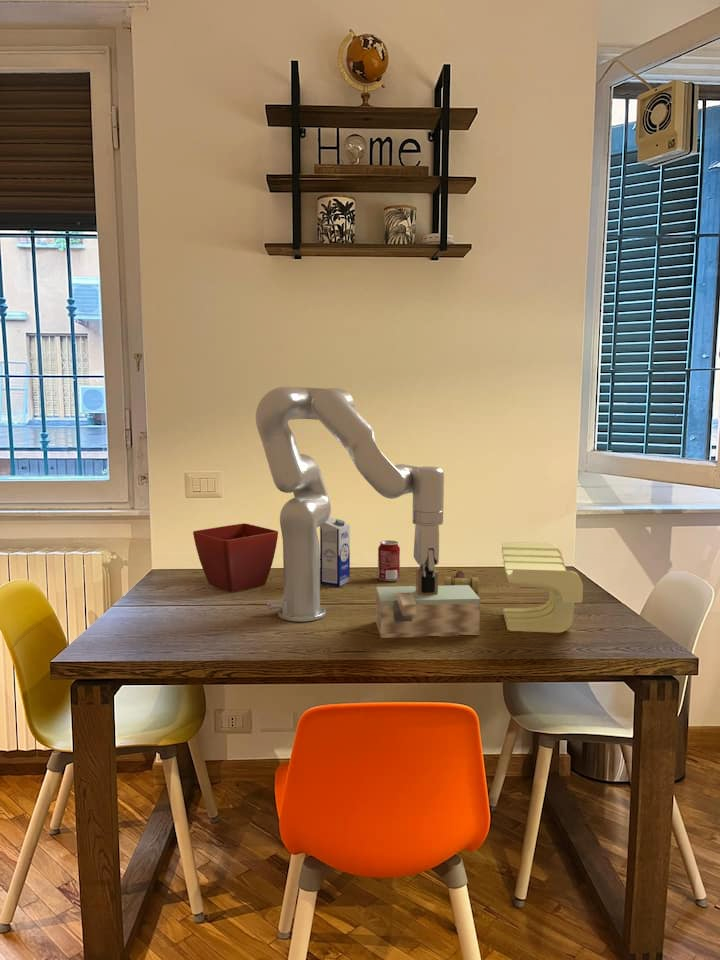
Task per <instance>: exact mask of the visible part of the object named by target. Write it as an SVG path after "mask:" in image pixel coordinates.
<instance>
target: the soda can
mask: <svg viewBox="0 0 720 960" xmlns="http://www.w3.org/2000/svg"><path fill="white" fill-rule="evenodd" d="M379 543H380V544H379V546H378V549H377V557H378V558H377V561H378V562H377V578H378V579H379V580H380V581H381V582H385V581H393V582H396V581H398V580H399V579H401V578H400V574H401V573H400V569H401V566H400V565H401V564H400V563H401V560H400V559H401V557H400V555H401V549H400V546H399V542H398V541H397V540H396V541H395V540H392V539H391V540H388V539H387V540H382V541H379Z"/></svg>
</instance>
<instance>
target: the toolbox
mask: <svg viewBox="0 0 720 960" xmlns="http://www.w3.org/2000/svg"><path fill="white" fill-rule="evenodd" d="M375 600H376V602H375V603H376V605H375V606H376V607H375V622H376V626H377V629H378V632H379V635H380V638H381V639H388V638H389V639H392V638H393V639H394V638H428V637H427V636H439V637H459V636H458V635H479V636H480V625H481V624H480V619H481V618H480V617H481V615H480V614H481V603H480V604H437V605H416V615H408V616H403V615H402V612H401V610H400V608H399V605H398V600H397V601H394V605H390V606H381V604H380V601H379V598H378V595H377V592H376V591H375ZM453 635H454V636H453ZM425 636H426V637H425Z"/></svg>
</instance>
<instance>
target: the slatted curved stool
mask: <svg viewBox="0 0 720 960" xmlns="http://www.w3.org/2000/svg"><path fill="white" fill-rule="evenodd" d="M501 553H502V559H503V566H504V572H505V575H506V577H507V581H508V583H509V584H519V585H520V584H521V585H523V584H524V585H531V586H537V587H541V588H543V589H546V590H548V591H549V592H548V593H549V598H548V600H547V602H546V603H545V604H543V605H540V606H539V605H538V606H535V607H526V608H503V609H502V610H503V611H502V615H504V616H503V618H505V619H504V622H506V623H505V625H506V629H508V630H510V632H531V633H532V632H535V633H537V632H538V633H558V634H559V633H563V632H565V631H567V630H569V628H570V626H571V625H572V623H573V621H574V612H575V603H577V604H578V603H579V604H583V597H584V596H583V595H584V593H583V591H584V584H583V580H582V579H581V577H580V576H579V574H578V573H577V572H575V571H572V570H567V569H566V565H565V563H564V558H563V555H562V552H561V550H560V549H559V547H558V546H557V545H555V544H553V543H551V542H530V541H529V542H522V541H521V542H520V541H519V542H518V541H501ZM508 630H507V631H508Z"/></svg>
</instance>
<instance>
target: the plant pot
mask: <svg viewBox="0 0 720 960" xmlns="http://www.w3.org/2000/svg"><path fill="white" fill-rule="evenodd" d="M192 534H193V539H194V540H193V541H194V543H195V548H196V551H197V555H198V559H199V562H200V565H201V568H202V571H203V572H204V575H205V578H206V580H207V583H208V585H209V584H210V585H209V586H211V585H212V587H214V588H217V589H219V590H222V591H225V592H228V593H235V592H240V591H244V590H249V589H253V588H257V587H258V588H259V587H261V586H265V585H266V583H267V580H268V579H269V575H270V572H271V568H272V565H273V563H274V559H275V553H276V549H277V543H278V537H279V530H275V529H270V528H268V527H267V528H266V527H262V526H257V525H254V524H250V523H238V524H237V523H236V524H230V525H229V524H228V525H225V526H216V527H212V528H203V529H200V530H194V531H192Z"/></svg>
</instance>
